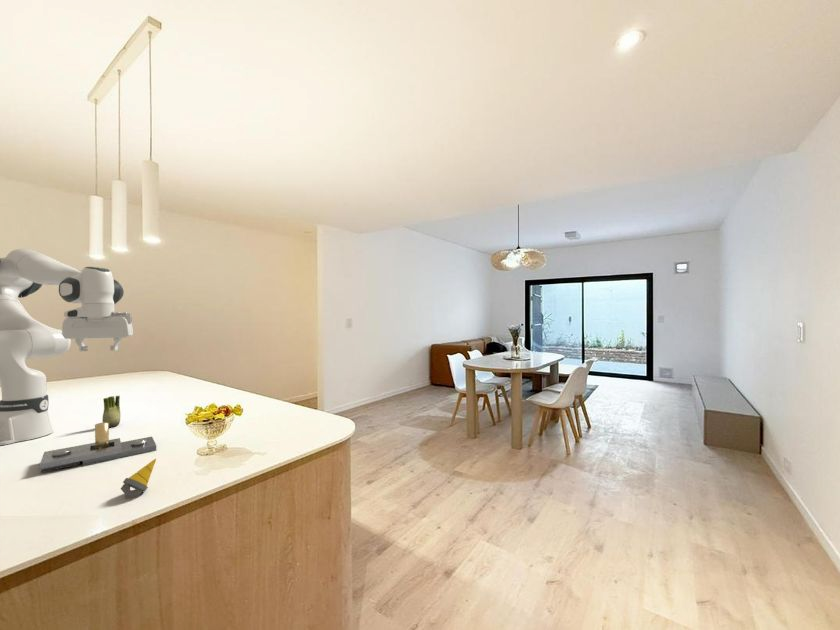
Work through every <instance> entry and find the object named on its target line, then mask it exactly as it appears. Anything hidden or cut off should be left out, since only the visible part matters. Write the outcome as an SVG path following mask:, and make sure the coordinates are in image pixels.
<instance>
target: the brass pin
mask: <svg viewBox="0 0 840 630" xmlns="http://www.w3.org/2000/svg"><path fill="white" fill-rule="evenodd" d="M109 428H110V427H109V423H108V422H103V421H102V422H99V423H96V424H94V443H95V450H98V449H103V448H108V447H109V440H110V436H109V435H110V429H109Z"/></svg>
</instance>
